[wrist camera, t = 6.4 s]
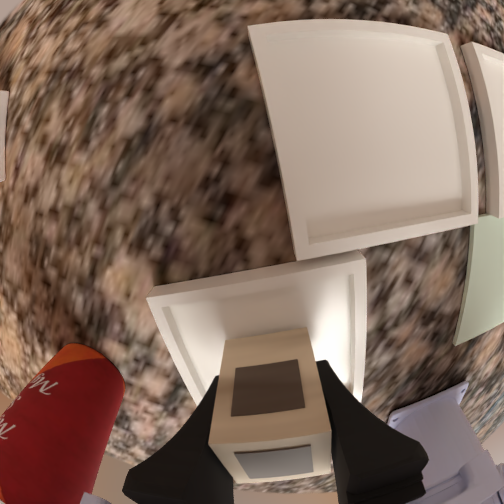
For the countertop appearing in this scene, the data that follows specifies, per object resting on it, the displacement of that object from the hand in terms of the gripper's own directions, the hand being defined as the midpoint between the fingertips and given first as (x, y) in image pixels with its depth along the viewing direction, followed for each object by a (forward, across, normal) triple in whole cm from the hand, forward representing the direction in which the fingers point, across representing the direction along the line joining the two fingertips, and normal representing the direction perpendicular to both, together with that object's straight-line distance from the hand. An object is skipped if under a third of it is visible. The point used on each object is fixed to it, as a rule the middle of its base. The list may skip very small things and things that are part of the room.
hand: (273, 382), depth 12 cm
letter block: (+1, 0, 0) cm, 1 cm away
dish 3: (+2, -19, -11) cm, 22 cm away
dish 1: (+2, -7, -11) cm, 13 cm away
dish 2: (+2, 0, 0) cm, 2 cm away
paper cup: (+3, +13, +1) cm, 13 cm away
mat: (+2, -17, -1) cm, 17 cm away
